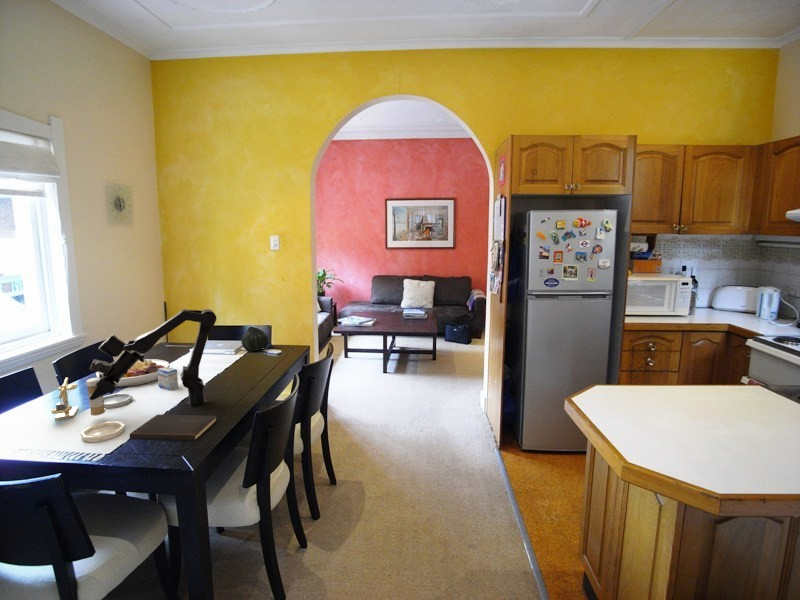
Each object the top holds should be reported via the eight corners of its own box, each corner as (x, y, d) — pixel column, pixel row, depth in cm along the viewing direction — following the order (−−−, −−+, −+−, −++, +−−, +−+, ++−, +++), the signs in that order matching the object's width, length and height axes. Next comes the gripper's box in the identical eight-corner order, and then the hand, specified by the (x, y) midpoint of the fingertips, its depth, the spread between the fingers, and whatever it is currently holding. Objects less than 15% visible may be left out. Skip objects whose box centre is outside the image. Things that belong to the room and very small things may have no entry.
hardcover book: (157, 420, 164) (157, 414, 163) (217, 421, 162) (216, 415, 162) (129, 440, 148) (128, 433, 147) (195, 442, 147) (194, 435, 146)
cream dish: (128, 433, 152) (128, 428, 151) (88, 445, 143) (87, 440, 142) (117, 423, 159) (116, 418, 159) (77, 434, 150) (77, 429, 150)
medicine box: (158, 387, 196) (156, 369, 195) (167, 384, 200) (166, 366, 199) (169, 390, 193) (168, 371, 191) (178, 387, 197) (177, 369, 195)
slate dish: (136, 402, 179) (135, 398, 179) (102, 411, 170) (101, 406, 170) (125, 395, 187) (125, 391, 187) (93, 403, 178) (92, 399, 178)
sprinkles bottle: (95, 411, 164) (90, 377, 162) (108, 410, 165) (103, 376, 162) (87, 416, 160) (83, 381, 158) (101, 415, 160) (96, 381, 158)
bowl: (81, 384, 200) (79, 368, 199) (139, 365, 228) (137, 351, 227) (130, 392, 191) (128, 375, 189) (183, 372, 219) (182, 357, 217)
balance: (62, 407, 173) (59, 376, 171) (81, 405, 176) (77, 373, 174) (51, 426, 157) (46, 391, 155) (71, 422, 160) (67, 388, 158)
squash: (271, 343, 253) (265, 321, 260) (244, 347, 246) (239, 325, 252) (268, 354, 264) (263, 333, 271) (242, 358, 257) (238, 337, 263)
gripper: (106, 346, 168) (74, 378, 165) (100, 358, 152) (65, 394, 149) (132, 362, 173) (102, 393, 170) (128, 376, 157) (95, 410, 154)
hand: (91, 397), depth 160 cm, fingers closed on sprinkles bottle, 4 cm apart
